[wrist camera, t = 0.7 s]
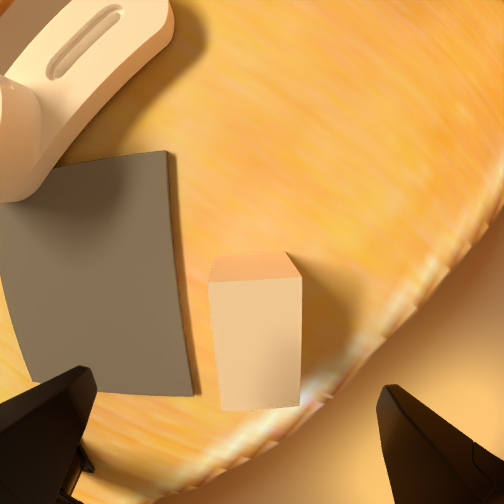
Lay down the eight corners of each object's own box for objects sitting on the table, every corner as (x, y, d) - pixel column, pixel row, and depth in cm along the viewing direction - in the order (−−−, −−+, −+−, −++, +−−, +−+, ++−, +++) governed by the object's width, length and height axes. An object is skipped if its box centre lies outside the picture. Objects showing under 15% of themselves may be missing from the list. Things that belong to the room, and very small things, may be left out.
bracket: (15, 225, 18) (-44, 237, 12) (-28, 157, 17) (-81, 154, 11) (198, 21, 17) (184, -37, 10) (129, -24, 15) (104, -72, 9)
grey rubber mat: (194, 392, 23) (193, 396, 22) (35, 378, 22) (32, 381, 21) (167, 151, 19) (165, 150, 18) (-7, 184, 18) (-11, 184, 18)
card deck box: (285, 355, 22) (299, 405, 16) (225, 359, 22) (222, 411, 16) (284, 250, 21) (302, 276, 15) (216, 254, 20) (207, 282, 15)
